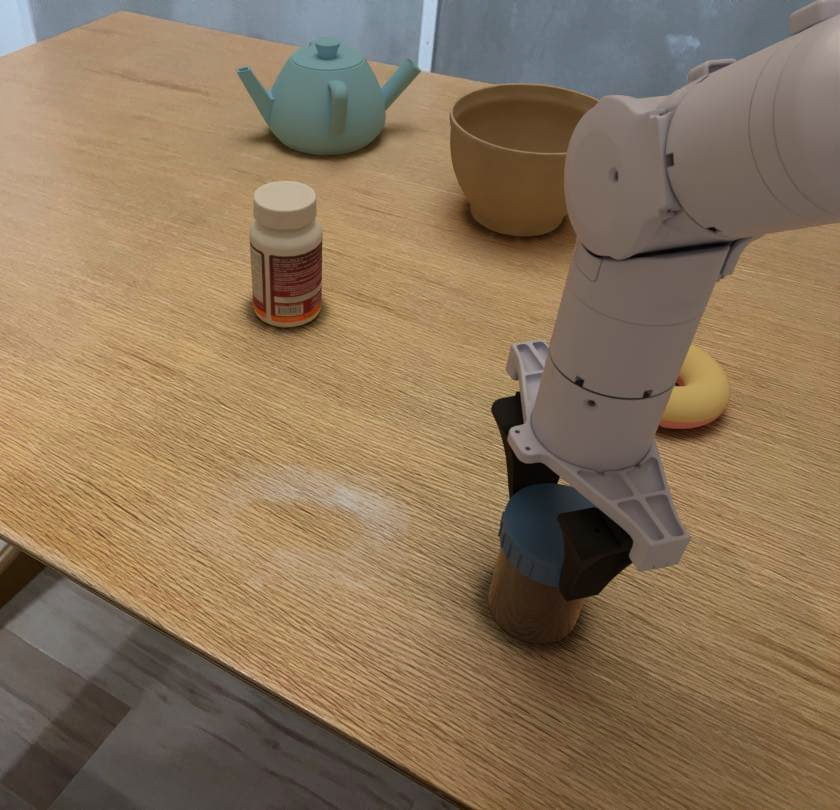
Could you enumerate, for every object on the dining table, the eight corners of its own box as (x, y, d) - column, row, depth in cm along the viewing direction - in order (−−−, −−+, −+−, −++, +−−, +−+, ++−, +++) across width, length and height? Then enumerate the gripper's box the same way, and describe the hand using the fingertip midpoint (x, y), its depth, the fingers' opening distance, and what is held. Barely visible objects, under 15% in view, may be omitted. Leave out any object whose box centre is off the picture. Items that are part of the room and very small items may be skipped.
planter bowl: (408, 201, 89) (417, 101, 81) (524, 168, 94) (543, 72, 87) (503, 273, 78) (524, 166, 71) (628, 231, 84) (659, 128, 77)
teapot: (360, 176, 93) (365, 76, 85) (235, 142, 100) (229, 47, 92) (419, 128, 103) (428, 34, 95) (302, 100, 110) (301, 10, 102)
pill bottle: (334, 304, 74) (338, 190, 67) (295, 338, 71) (294, 221, 63) (279, 282, 77) (277, 170, 69) (239, 314, 73) (231, 199, 66)
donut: (638, 366, 71) (565, 391, 67) (652, 317, 69) (576, 339, 64) (746, 418, 64) (671, 450, 59) (765, 365, 62) (689, 394, 57)
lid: (481, 512, 48) (486, 491, 47) (577, 494, 49) (584, 474, 48) (525, 598, 44) (532, 578, 43) (630, 577, 45) (639, 556, 44)
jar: (595, 628, 49) (628, 550, 44) (516, 655, 48) (541, 578, 43) (546, 560, 53) (571, 481, 48) (471, 583, 52) (490, 505, 47)
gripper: (470, 283, 42) (440, 466, 51) (613, 488, 32) (543, 673, 41) (596, 266, 43) (545, 448, 52) (773, 458, 33) (671, 644, 42)
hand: (552, 545), depth 47 cm, fingers closed on lid, 6 cm apart
